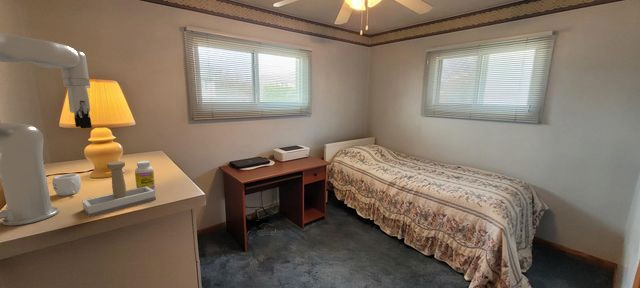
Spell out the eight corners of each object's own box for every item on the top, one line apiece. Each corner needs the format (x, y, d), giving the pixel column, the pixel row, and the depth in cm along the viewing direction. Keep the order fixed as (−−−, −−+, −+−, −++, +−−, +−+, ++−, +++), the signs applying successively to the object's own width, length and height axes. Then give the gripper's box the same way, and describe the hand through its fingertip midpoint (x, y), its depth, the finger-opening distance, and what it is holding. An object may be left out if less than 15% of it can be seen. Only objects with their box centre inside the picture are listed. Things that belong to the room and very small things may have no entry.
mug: (51, 195, 106) (47, 177, 105) (77, 189, 114) (74, 172, 112) (63, 200, 101) (60, 181, 100) (90, 193, 108) (87, 175, 107)
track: (89, 216, 86) (87, 207, 85) (83, 209, 92) (81, 200, 91) (155, 199, 101) (154, 190, 101) (147, 194, 107) (146, 186, 107)
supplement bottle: (140, 194, 107) (136, 164, 105) (134, 191, 111) (131, 162, 109) (158, 190, 112) (154, 161, 110) (152, 187, 116) (148, 159, 114)
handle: (117, 205, 93) (112, 165, 90) (109, 202, 96) (104, 163, 94) (132, 201, 97) (127, 162, 95) (124, 198, 100) (119, 160, 98)
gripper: (60, 84, 102) (67, 126, 105) (67, 82, 91) (75, 129, 94) (85, 85, 108) (91, 125, 111) (94, 83, 97) (101, 127, 100)
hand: (83, 127), depth 102 cm, fingers open, 9 cm apart
